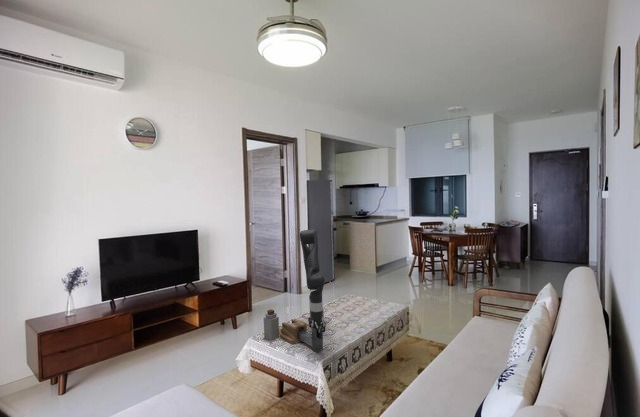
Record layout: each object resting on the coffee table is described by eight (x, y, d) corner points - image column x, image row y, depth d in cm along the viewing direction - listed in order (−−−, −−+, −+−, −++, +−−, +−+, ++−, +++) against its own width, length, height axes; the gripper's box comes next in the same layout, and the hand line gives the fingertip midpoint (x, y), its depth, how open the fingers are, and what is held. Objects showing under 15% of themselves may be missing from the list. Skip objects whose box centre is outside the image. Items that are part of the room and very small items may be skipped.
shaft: (295, 334, 230) (294, 314, 229) (323, 349, 208) (322, 326, 208) (289, 336, 227) (288, 316, 226) (316, 351, 205) (315, 329, 204)
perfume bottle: (272, 334, 232) (271, 307, 231) (279, 337, 228) (278, 310, 227) (264, 338, 227) (263, 310, 226) (271, 341, 223) (270, 313, 222)
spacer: (291, 332, 236) (288, 330, 239) (291, 326, 236) (288, 324, 239) (281, 335, 231) (278, 333, 235) (280, 329, 231) (278, 327, 234)
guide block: (297, 331, 236) (296, 316, 236) (309, 337, 226) (309, 322, 225) (279, 337, 228) (279, 321, 227) (291, 344, 217) (291, 328, 216)
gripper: (329, 310, 204) (330, 339, 205) (313, 304, 215) (314, 331, 216) (319, 313, 199) (320, 342, 200) (304, 307, 210) (304, 335, 211)
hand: (317, 336), depth 208 cm, fingers open, 5 cm apart
